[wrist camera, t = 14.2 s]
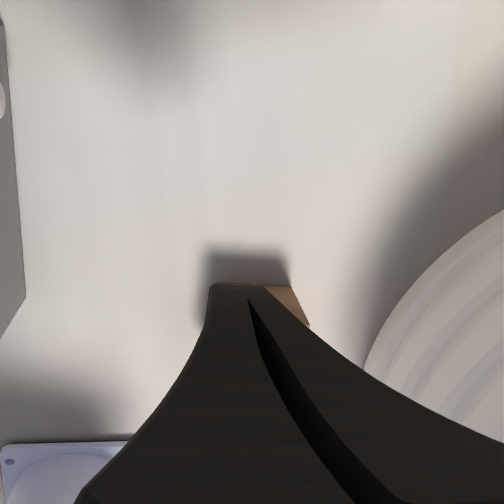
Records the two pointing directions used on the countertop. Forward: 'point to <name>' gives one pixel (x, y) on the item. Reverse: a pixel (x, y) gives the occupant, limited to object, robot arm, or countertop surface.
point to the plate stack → (452, 334)
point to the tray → (8, 208)
